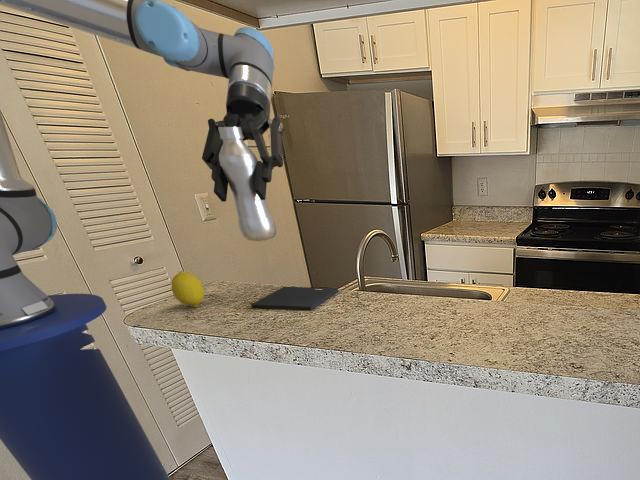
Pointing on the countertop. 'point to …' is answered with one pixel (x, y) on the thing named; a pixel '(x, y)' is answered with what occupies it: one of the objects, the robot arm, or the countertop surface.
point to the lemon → (187, 289)
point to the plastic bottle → (244, 186)
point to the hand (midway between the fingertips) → (240, 195)
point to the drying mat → (295, 298)
